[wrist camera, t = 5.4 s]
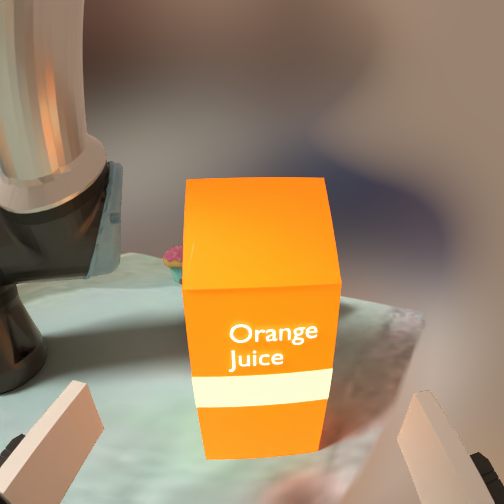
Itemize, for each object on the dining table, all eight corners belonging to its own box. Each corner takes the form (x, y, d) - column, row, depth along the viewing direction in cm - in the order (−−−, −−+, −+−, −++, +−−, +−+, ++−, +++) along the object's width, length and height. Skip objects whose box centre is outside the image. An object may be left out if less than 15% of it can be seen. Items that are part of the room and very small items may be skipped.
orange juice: (208, 399, 27) (192, 179, 22) (300, 394, 28) (310, 177, 23) (205, 461, 19) (173, 180, 15) (319, 452, 20) (348, 179, 15)
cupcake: (215, 277, 63) (213, 218, 60) (185, 290, 56) (180, 224, 53) (186, 270, 67) (183, 216, 64) (156, 281, 61) (151, 221, 58)
